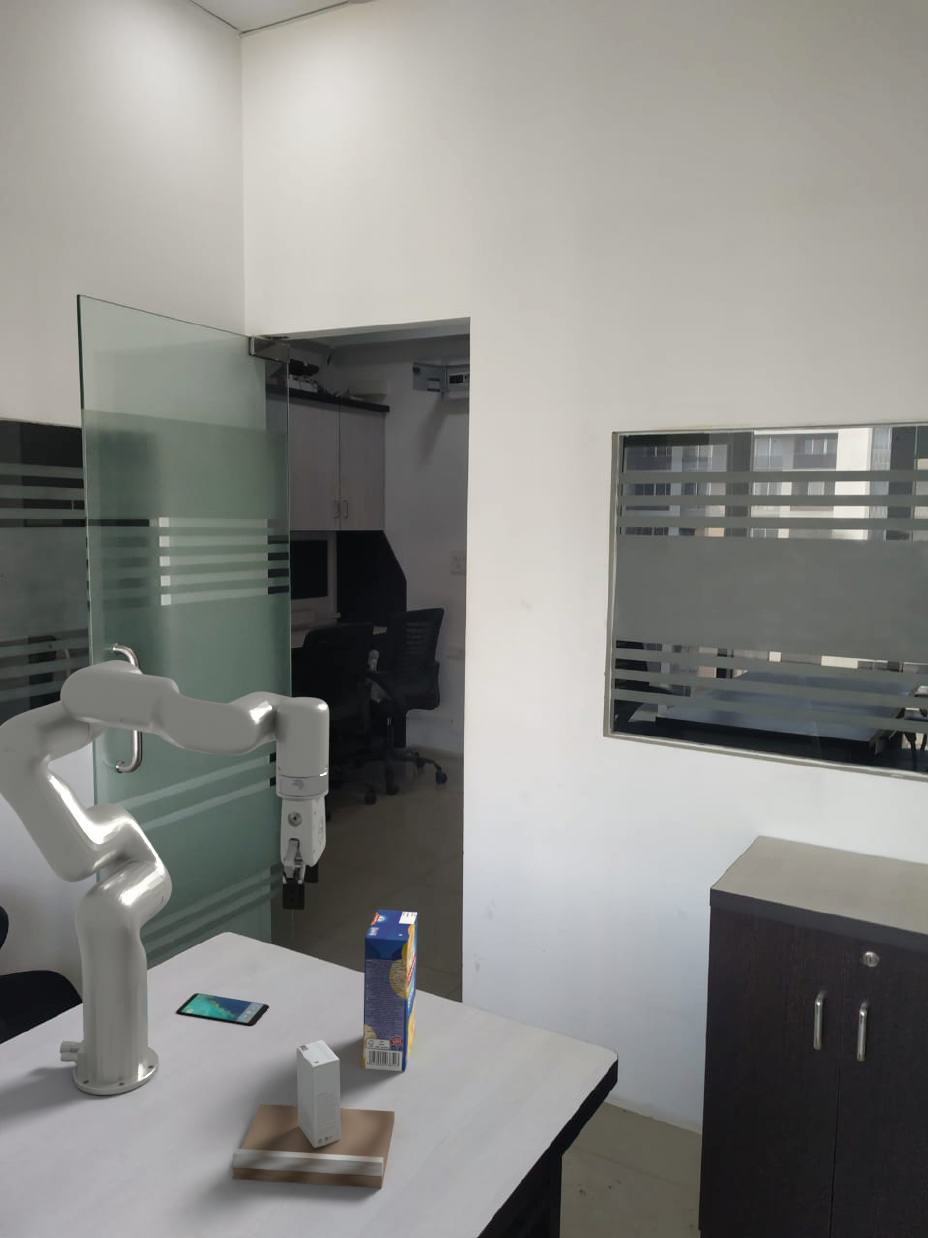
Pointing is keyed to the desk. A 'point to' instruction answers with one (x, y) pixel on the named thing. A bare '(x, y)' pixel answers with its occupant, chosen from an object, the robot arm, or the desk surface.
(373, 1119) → the shelf board
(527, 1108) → the desk surface
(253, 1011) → the smartphone
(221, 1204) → the desk surface
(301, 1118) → the skincare box
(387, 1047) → the beverage box
